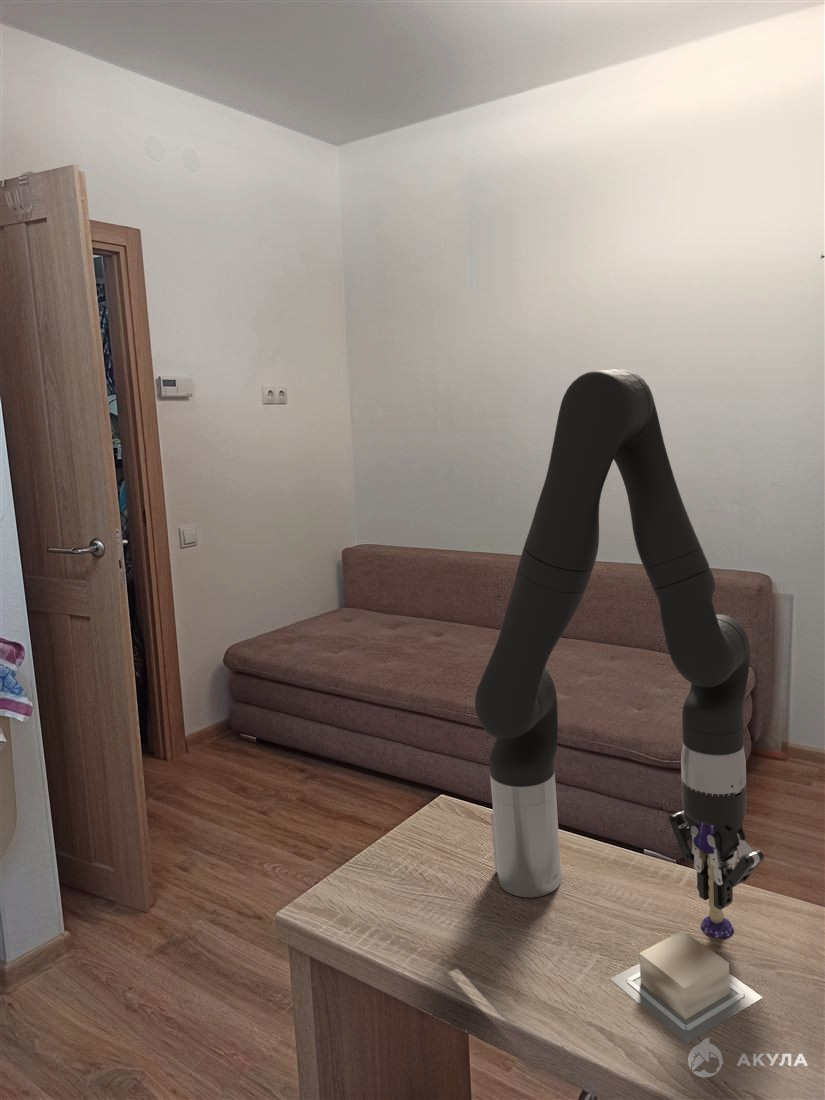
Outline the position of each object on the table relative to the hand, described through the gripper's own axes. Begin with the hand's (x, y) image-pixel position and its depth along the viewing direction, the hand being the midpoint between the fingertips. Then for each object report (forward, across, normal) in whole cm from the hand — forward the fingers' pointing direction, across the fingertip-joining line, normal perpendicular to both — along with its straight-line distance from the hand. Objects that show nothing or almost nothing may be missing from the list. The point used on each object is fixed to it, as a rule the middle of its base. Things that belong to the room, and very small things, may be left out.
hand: (714, 901), depth 105 cm
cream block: (+4, +5, -11) cm, 13 cm away
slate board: (+5, +5, -11) cm, 13 cm away
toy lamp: (+5, 0, 0) cm, 5 cm away
